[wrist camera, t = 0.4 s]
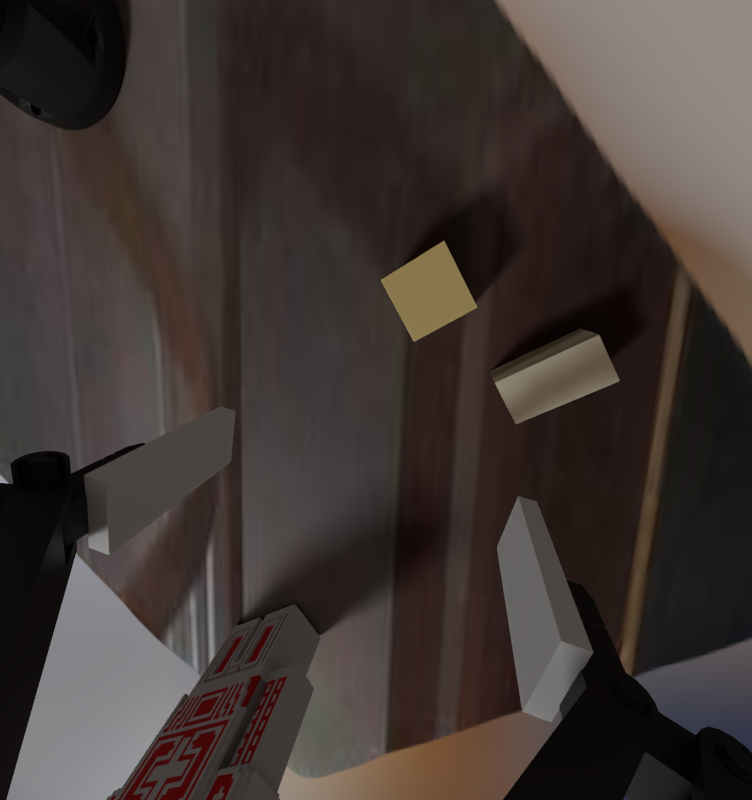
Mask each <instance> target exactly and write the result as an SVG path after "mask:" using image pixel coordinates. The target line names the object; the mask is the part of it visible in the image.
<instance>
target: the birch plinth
mask: <svg viewBox="0 0 752 800" xmlns="http://www.w3.org/2000/svg"><path fill="white" fill-rule="evenodd" d="M490 372H491V375H492V377H493V380H494V382H495V384H496V386H497V388H498V390H499V392H500V394H501V396H502V398H503V400H504V402H505V404H506V406H507V408H508V410H509V412H510V414H511V416H512V418H513V420H514V422H515V424H518V423H520V422H522V421H525V420H527V419H530V418H532V417H534V416H537V415H539V414H542V413H544V412H546V411H549V410H551V409H554V408H556V407H558V406H561V405H563V404H566V403H568V402H570V401H573V400H575V399H578V398H580V397H582V396H585V395H587V394H590V393H592V392H594V391H597V390H599V389H602V388H604V387H606V386H609V385H611V384H614V383H616V382H619V378H618V376H617V374H616V372H615V369H614V367H613V365H612V363H611V360H610V358H609V356H608V354H607V351H606V349H605V347H604V345H603V342H602V340H601V338H600V335H599V334H596V333H593V332H589V331H586V330H583V329H578V330H576V331H574V332H571V333H569V334H567V335H565V336H563V337H561V338H559V339H557V340H555V341H553V342H550V343H548V344H546V345H544V346H542V347H540V348H538V349H536V350H534V351H532V352H529V353H527V354H525V355H523V356H521V357H519V358H517V359H515V360H513V361H511V362H508V363H506V364H504V365H502V366H500V367H498V368H496V369H494V370H492V371H490Z"/></svg>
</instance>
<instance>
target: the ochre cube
mask: <svg viewBox="0 0 752 800" xmlns="http://www.w3.org/2000/svg"><path fill="white" fill-rule="evenodd" d="M381 282H382V283H383V285H384V287H385V289H386V291H387V293H388V295H389V296H390V298H391V300H392V302H393V304H394V306H395V308H396V310H397V311H398V313H399V315H400V317H401V319H402V321H403V323H404V324H405V326H406V328H407V330H408V332H409V334H410V336H411V337H412V339H413V341H414V342H415V341H416V340H418V339H420V338H422V337H424V336H426V335H428V334H429V333H431V332H433V331H435V330H437V329H439V328H440V327H442V326H444V325H446V324H448V323H450V322H451V321H453V320H455V319H457V318H459V317H461V316H463V315H464V314H466V313H468V312H470V311H472V310H474V309H475V308H477V306H476V304H475V302H474V300H473V298H472V296H471V294H470V291H469V289H468V287H467V285H466V283H465V281H464V279H463V277H462V275H461V273H460V271H459V269H458V267H457V265H456V263H455V261H454V259H453V257H452V255H451V253H450V251H449V249H448V247H447V245H446V243H445V241H443V242H441V243H439V244H438V245H436V246H435V247H433V248H431V249H430V250H428V251H427V252H425V253H423V254H422V255H420V256H419V257H417V258H415V259H414V260H412V261H411V262H409V263H407V264H406V265H404V266H403V267H401V268H399V269H398V270H396V271H395V272H393V273H391V274H390V275H388V276H387V277H385V278H383V279H382V280H381Z"/></svg>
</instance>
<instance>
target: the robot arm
mask: <svg viewBox="0 0 752 800" xmlns="http://www.w3.org/2000/svg"><path fill="white" fill-rule="evenodd" d="M123 66H124V43H123V34H122V28H121V23H120V19H119V15H118V11H117V8H116V5H115V2H114V0H0V95H1V96H3V97H4V98H6V99H7V100H8V101H10V102H11V103H12V104H14V105H15V106H16V107H18V108H19V109H20V110H22V111H23V112H25V113H27V114H29V115H30V116H32V117H34V118H36V119H39V120H41V121H44V122H46V123H48V124H51V125H53V126H56V127H59V128H62V129H67V130H80V129H84V128H87V127H90V126H92V125H94V124H95V123H97V122H98V121H99V120H100V119H102V118H103V117H104V115H105V114H106V113H107V112H108V111H109V109H110V108H111V106H112V104H113V102H114V100H115V98H116V96H117V93H118V91H119V87H120V84H121V80H122V74H123ZM234 421H235V411H234V410H230V409H227V408H224V407H219V408H217V409H215V410H213V411H211V412H209V413H207V414H205V415H203V416H201V417H199V418H197V419H195V420H193V421H191V422H189V423H187V424H185V425H183V426H181V427H179V428H177V429H175V430H173V431H171V432H169V433H167V434H165V435H163V436H161V437H159V438H157V439H155V440H153V441H151V442H149V443H147V444H145V443H140V444H136V445H132V446H128V447H126V448H124V449H122V450H119V451H117V452H115V453H114V455H113V454H111V455H109V456H107V457H105V458H104V459H103V460H102V459H101V460H99V461H97V462H95V463H92V464H90V465H88V466H86V467H84V468H82V469H80V470H78V471H76V472H74V473H72V474H71V469H70V457H69V456H68V455H67V454H65V453H61V452H57V451H44V452H35V453H31V454H28V455H24V456H22V457H20V458H18V459H16V460H14V461H13V462H12V463H11V471H12V478H13V484H6V483H0V800H6V798H7V795H8V791H9V788H10V784H11V781H12V777H13V774H14V770H15V767H16V763H17V759H18V756H19V752H20V749H21V745H22V742H23V738H24V734H25V731H26V728H27V724H28V721H29V717H30V713H31V710H32V707H33V703H34V699H35V696H36V692H37V689H38V685H39V682H40V678H41V675H42V671H43V668H44V664H45V661H46V657H47V654H48V650H49V646H50V643H51V639H52V636H53V632H54V629H55V625H56V621H57V618H58V615H59V611H60V607H61V604H62V601H63V597H64V593H65V590H66V586H67V583H68V579H69V576H70V572H71V569H72V565H73V561H74V558H75V555H76V551H77V542H76V540H78V539H79V538H81V537H82V536H84V535H85V534H87V533H88V542H89V548H91V549H94V550H97V551H99V552H102V553H104V554H107V555H110V554H112V553H113V552H114V551H115V550H117V549H118V548H119V547H121V546H122V545H123V544H125V543H126V542H127V541H128V540H130V539H131V538H132V537H134V536H135V535H136V534H138V533H139V532H140V531H142V530H143V529H144V528H145V527H147V526H148V525H149V524H151V523H152V522H153V521H155V520H156V519H157V518H158V517H160V516H161V515H162V514H164V513H165V512H166V511H168V510H169V509H170V508H171V507H173V506H174V505H175V504H177V503H178V502H179V501H181V500H182V499H183V498H184V497H186V496H187V495H188V494H190V493H191V492H192V491H194V490H195V489H196V488H197V487H199V486H200V485H201V484H203V483H204V482H205V481H207V480H208V479H209V478H210V477H212V476H213V475H214V474H216V473H217V472H218V471H220V470H221V469H222V468H223V467H225V466H226V465H227V464H229V463H230V462H231V454H232V443H233V432H234ZM497 551H498V558H499V564H500V571H501V577H502V583H503V590H504V596H505V603H506V609H507V615H508V622H509V628H510V635H511V641H512V647H513V654H514V660H515V667H516V673H517V680H518V686H519V692H520V699H521V705H522V712H525V713H528V714H530V715H533V716H536V717H538V718H541V719H544V720H546V721H549V722H552V720H553V718H554V717H555V715H556V713H557V712H558V710H559V708H560V711H561V715H562V719H563V720H562V721H561V723H560V724H559V725H558V726H557V728H556V729H555V730H554V732H553V733H552V735H551V736H550V737H549V739H548V740H547V741H546V743H545V744H544V745H543V747H542V748H541V749H540V751H539V752H538V753H537V755H536V756H535V757H534V759H533V760H532V761H531V763H530V764H529V766H528V767H527V768H526V770H525V771H524V772H523V774H522V775H521V776H520V778H519V779H518V780H517V782H516V783H515V784H514V786H513V787H512V789H511V790H510V791H509V792H508V794H507V795H506V796H505V798H504V799H503V800H623V799H624V797H626V798H627V799H629V800H752V753H751V752H750V751H749V749H748V748H746V747H745V746H744V745H743V744H741V743H740V742H739V741H737V740H736V739H735V738H734V737H732V736H730V735H729V734H727V733H725V732H723V731H721V730H720V729H716V728H712V727H706V728H703V729H701V730H700V731H699V733H698V734H697V735H694V734H693V733H691V732H689V731H688V730H686V729H685V728H683V727H681V726H680V725H678V724H677V723H675V722H673V721H672V720H670V719H669V718H667V717H665V716H664V715H663V714H661V713H660V712H658V709H657V707H656V704H655V702H654V700H653V699H652V698H651V696H650V695H649V693H648V692H647V690H646V689H644V687H643V686H642V685H640V684H639V682H638V681H637V680H635V679H634V678H633V677H631V676H630V675H628V674H627V673H626V672H625V670H624V668H623V665H622V663H621V661H620V659H619V656H618V654H617V652H616V650H615V647H614V645H613V643H612V640H611V638H610V636H609V634H608V631H607V629H605V625H604V622H603V620H602V618H601V617H600V613H599V611H598V609H597V606H596V604H595V602H594V600H593V598H592V597H591V596H590V595H589V593H588V592H587V591H586V590H585V588H584V587H583V586H582V585H581V584H578V583H575V582H571V581H568V580H566V578H565V575H564V573H563V570H562V568H561V565H560V562H559V560H558V557H557V554H556V552H555V549H554V546H553V544H552V541H551V538H550V536H549V533H548V530H547V528H546V525H545V522H544V520H543V517H542V514H541V512H540V509H539V506H538V504H537V502H536V501H533V500H529V499H526V498H523V497H520V496H518V498H517V500H516V503H515V505H514V508H513V510H512V512H511V515H510V517H509V520H508V522H507V524H506V527H505V529H504V532H503V534H502V536H501V539H500V541H499V544H498V546H497Z"/></svg>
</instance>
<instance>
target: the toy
mask: <svg viewBox="0 0 752 800" xmlns="http://www.w3.org/2000/svg"><path fill="white" fill-rule="evenodd" d="M319 641H320V636H319V635H318V634H317V632H316V631H315V629H314V628H313V627H312V625H311V624H310V623H309V621H308V620H307V619H306V618H305V616H304V615H303V614H302V612H301V611H300V610H299V608H298V607H297V606H296V605H295V604H293V605H291V606H288V607H285V608H283V609H280V610H277V611H275V612H272V613H270V614H267V615H266V616H265V618H264V620H262V619H261V618H260V617H259V618H256V619H254V620H251V621H249V622H246V623H243V624H241V625H238V626H235V627H234V628H233V629H232V631H231V632H230V634H229V635H228V637H227V638H226V640H225V641H224V643H223V644H222V646H221V647H220V649H219V650H218V652H217V654H216V655H215V657H214V658H213V660H212V661H211V663H210V664H209V666H208V667H207V669H206V670H205V672H204V673H203V675H202V676H201V678H200V680H199V681H198V683H197V684H196V686H195V687H194V689H193V690H192V692H191V693H190V695H189V696H188V695H187V694H185V695H184V696H183V697H182V699H181V700H180V702H179V703H178V705H177V706H176V708H175V709H174V711H173V712H172V714H171V715H170V717H169V718H168V720H167V721H166V723H165V724H164V726H163V727H162V729H161V730H160V732H159V733H158V735H157V736H156V738H155V739H154V741H153V742H152V744H151V745H150V747H149V748H148V750H147V751H146V753H145V754H144V756H143V757H142V759H141V760H140V762H139V763H138V765H137V766H136V768H135V769H134V771H133V772H132V774H131V775H130V777H129V778H128V780H127V781H126V782H125V784H124V785H123V787H122V788H120V789H118V790H116V791H114V792H113V794H112V795H111V796H109V797H108V798H107V799H106V800H280V799H279V798H278V797H279V794H278V793H277V791H278V788H279V785H280V783H281V780H282V777H283V774H284V771H285V769H286V766H287V763H288V760H289V757H290V754H291V752H292V749H293V746H294V743H295V740H296V738H297V735H298V732H299V729H300V726H301V723H302V721H303V718H304V715H305V712H306V709H307V706H308V704H309V701H310V698H311V695H312V692H313V690H314V688H313V686H312V685H311V684H310V681H309V680H308V679H307V678H306V674H307V672H308V669H309V666H310V664H311V661H312V659H313V656H314V653H315V651H316V648H317V646H318V643H319Z"/></svg>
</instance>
